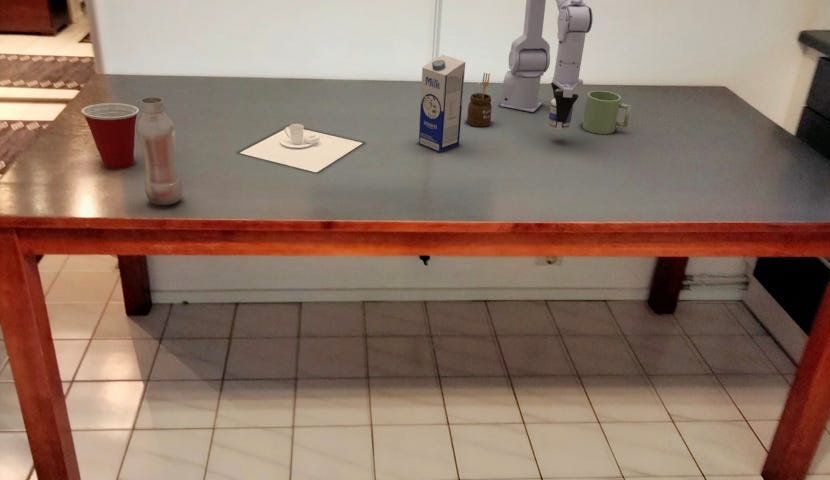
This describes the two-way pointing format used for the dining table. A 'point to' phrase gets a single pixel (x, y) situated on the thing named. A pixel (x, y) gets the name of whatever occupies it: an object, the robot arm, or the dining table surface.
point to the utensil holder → (480, 107)
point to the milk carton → (441, 103)
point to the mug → (603, 112)
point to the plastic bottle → (159, 153)
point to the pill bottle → (553, 121)
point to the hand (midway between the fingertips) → (560, 117)
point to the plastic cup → (113, 132)
